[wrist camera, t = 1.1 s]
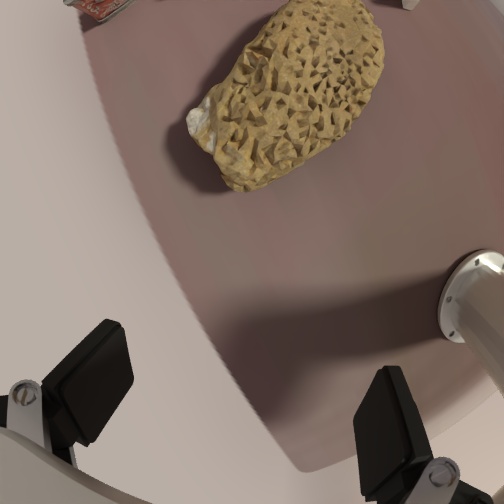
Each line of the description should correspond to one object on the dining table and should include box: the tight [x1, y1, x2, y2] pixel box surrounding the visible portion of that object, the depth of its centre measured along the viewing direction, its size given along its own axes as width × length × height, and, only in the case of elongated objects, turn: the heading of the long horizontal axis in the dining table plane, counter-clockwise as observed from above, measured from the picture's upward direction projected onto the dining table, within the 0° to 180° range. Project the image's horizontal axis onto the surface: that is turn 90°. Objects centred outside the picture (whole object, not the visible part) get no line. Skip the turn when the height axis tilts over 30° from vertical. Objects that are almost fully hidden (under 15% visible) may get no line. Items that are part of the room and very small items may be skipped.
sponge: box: [186, 0, 385, 193], centre depth 19 cm, size 13×8×20 cm
